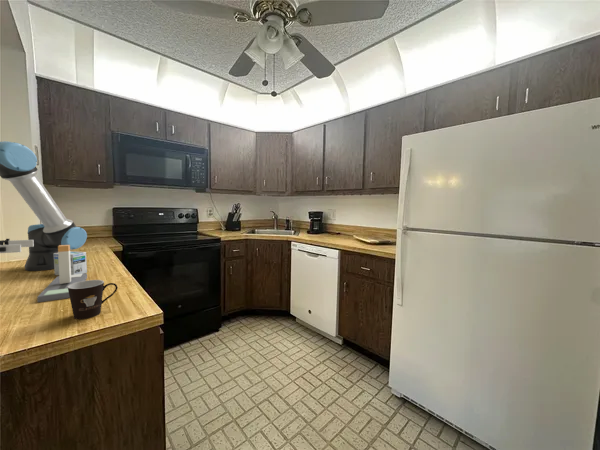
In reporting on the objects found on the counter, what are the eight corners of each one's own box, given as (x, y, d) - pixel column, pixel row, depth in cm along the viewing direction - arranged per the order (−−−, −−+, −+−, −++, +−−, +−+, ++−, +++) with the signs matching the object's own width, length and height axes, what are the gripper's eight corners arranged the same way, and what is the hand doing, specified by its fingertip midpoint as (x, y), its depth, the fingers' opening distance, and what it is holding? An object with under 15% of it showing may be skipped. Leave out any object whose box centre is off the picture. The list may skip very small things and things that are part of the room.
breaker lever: (61, 281, 99) (59, 245, 98) (71, 280, 101) (69, 244, 100) (59, 283, 97) (57, 246, 95) (69, 282, 98) (68, 245, 97)
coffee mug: (64, 323, 71) (62, 290, 70) (74, 311, 79) (73, 281, 78) (113, 316, 76) (112, 285, 76) (118, 305, 84) (117, 277, 83)
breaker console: (57, 280, 107) (57, 275, 107) (87, 277, 113) (86, 273, 113) (37, 302, 85) (37, 296, 84) (76, 297, 90) (75, 291, 90)
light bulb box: (87, 272, 121) (86, 251, 120) (73, 276, 114) (72, 254, 113) (68, 271, 122) (67, 250, 121) (53, 275, 115) (52, 253, 114)
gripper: (-45, 254, 90) (38, 250, 102) (-96, 268, 69) (14, 261, 82) (-46, 234, 89) (37, 232, 101) (-98, 242, 69) (14, 239, 81)
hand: (27, 245), depth 92 cm, fingers open, 13 cm apart
